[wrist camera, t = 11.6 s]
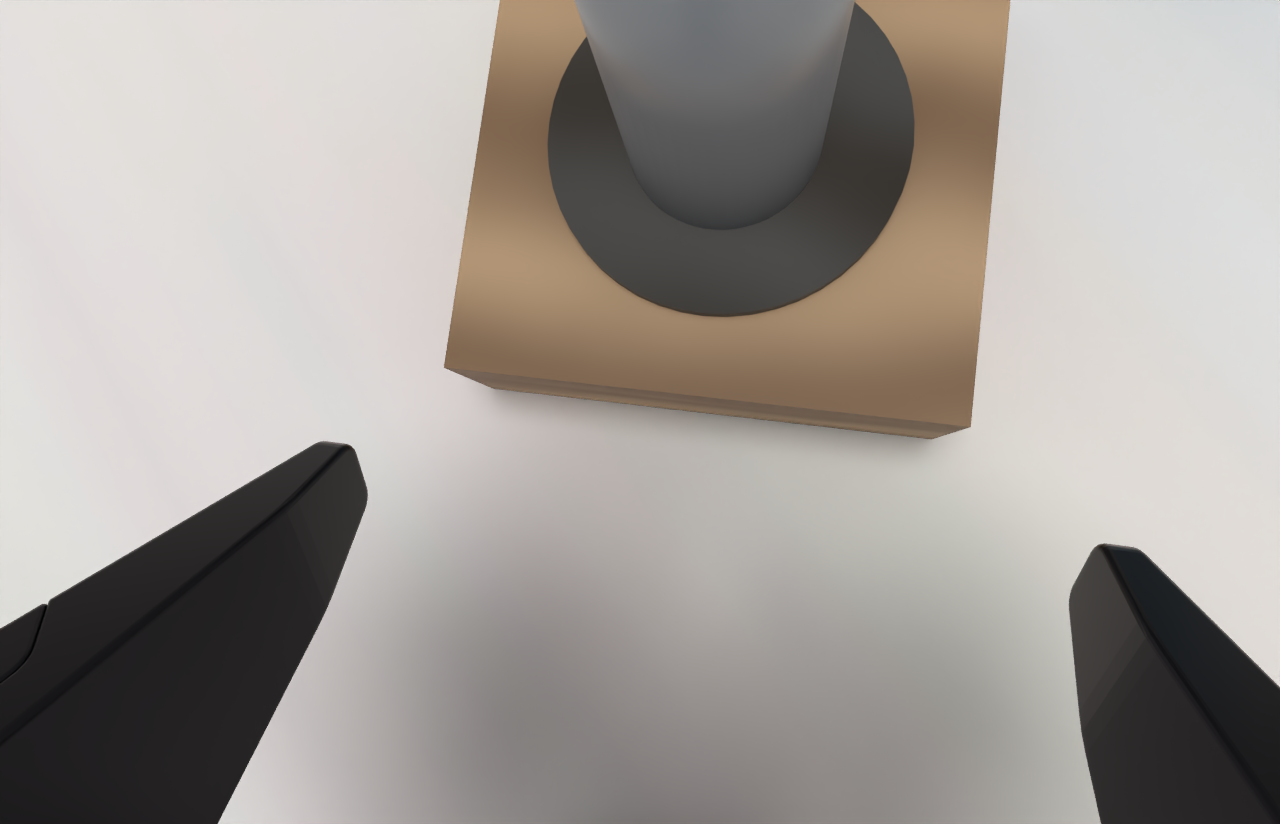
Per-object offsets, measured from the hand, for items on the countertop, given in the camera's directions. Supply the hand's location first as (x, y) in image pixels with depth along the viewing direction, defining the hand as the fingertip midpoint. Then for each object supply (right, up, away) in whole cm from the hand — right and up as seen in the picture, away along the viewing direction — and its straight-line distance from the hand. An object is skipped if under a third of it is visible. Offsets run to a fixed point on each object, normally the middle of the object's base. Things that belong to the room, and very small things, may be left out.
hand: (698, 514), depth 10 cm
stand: (+2, +8, +14) cm, 16 cm away
